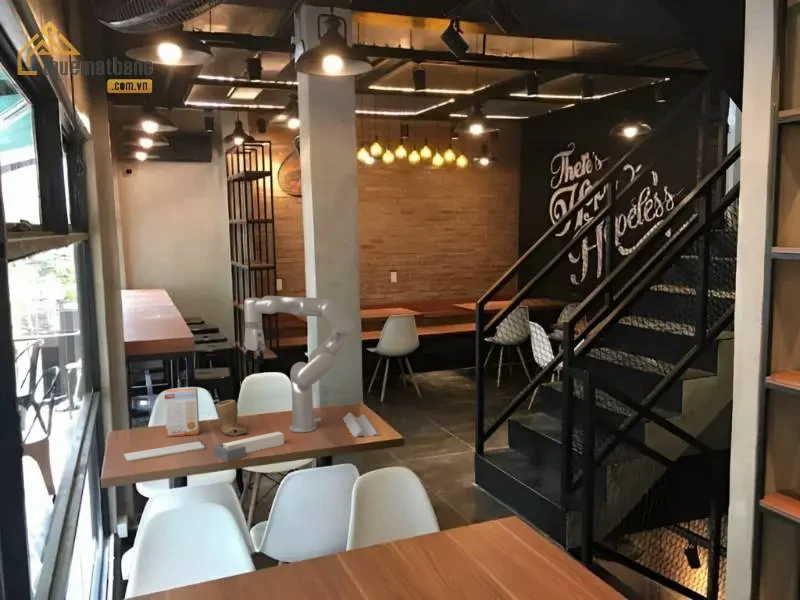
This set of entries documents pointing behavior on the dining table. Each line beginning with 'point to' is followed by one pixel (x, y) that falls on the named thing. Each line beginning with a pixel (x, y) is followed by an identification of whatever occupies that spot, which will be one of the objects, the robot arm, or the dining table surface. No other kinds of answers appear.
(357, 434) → the crown molding
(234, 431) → the tan boot
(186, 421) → the cracker box
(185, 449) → the baseboard molding
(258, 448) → the cream white rectangular bar
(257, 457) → the dining table surface
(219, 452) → the end cap
